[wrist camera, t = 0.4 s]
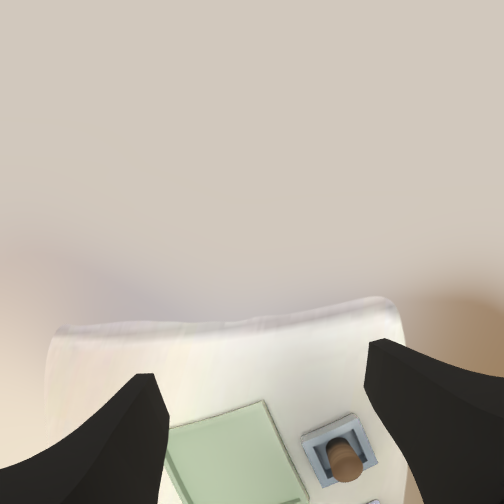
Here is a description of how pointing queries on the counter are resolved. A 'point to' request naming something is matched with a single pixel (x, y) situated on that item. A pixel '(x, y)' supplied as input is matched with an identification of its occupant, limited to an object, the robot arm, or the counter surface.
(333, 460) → the dowel
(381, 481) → the counter surface
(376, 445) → the counter surface
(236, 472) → the tray
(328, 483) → the blue-grey square socket
